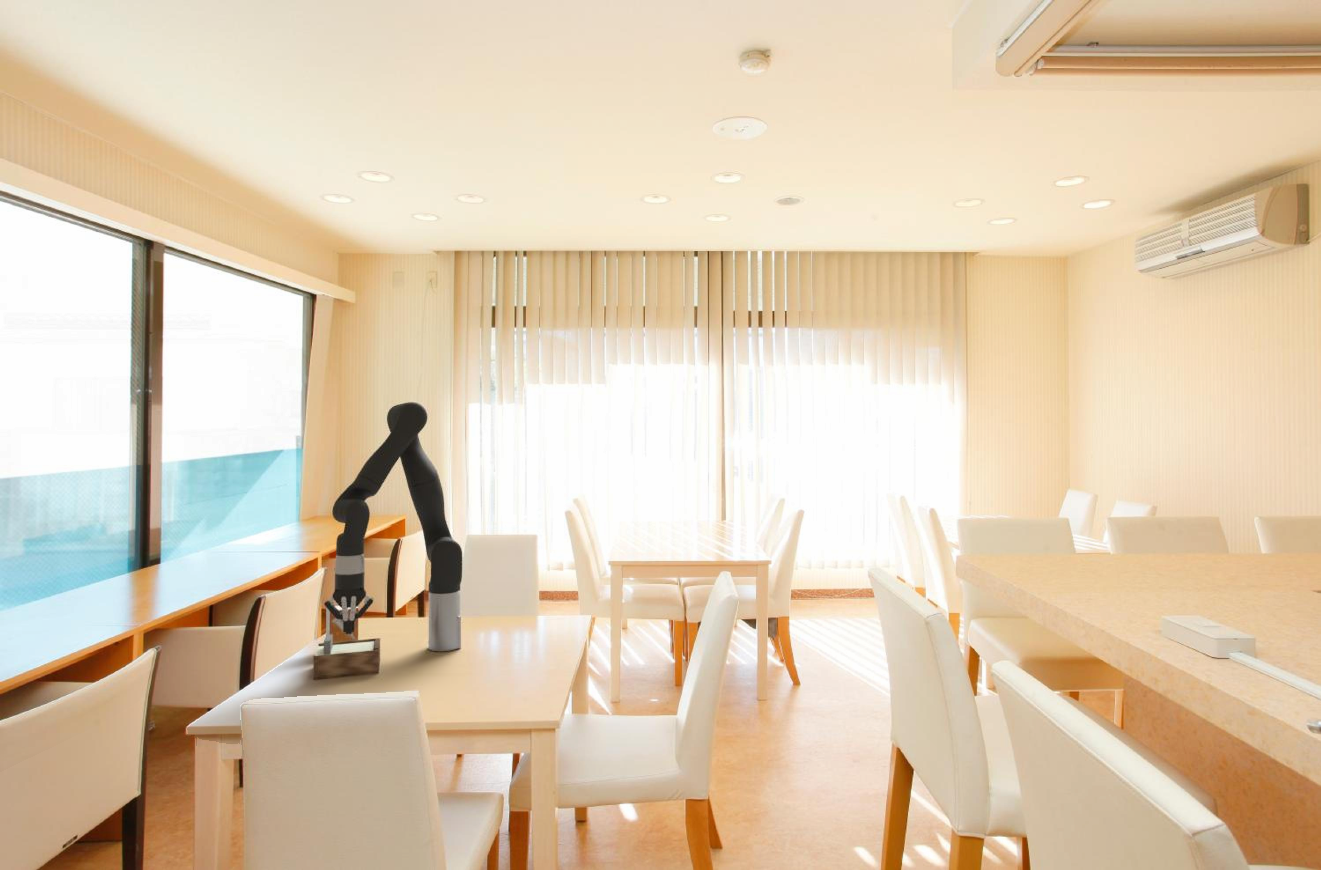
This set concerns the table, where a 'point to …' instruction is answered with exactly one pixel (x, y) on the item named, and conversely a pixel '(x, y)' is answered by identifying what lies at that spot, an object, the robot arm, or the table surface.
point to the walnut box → (348, 662)
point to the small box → (340, 627)
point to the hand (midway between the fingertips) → (348, 633)
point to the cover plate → (342, 647)
